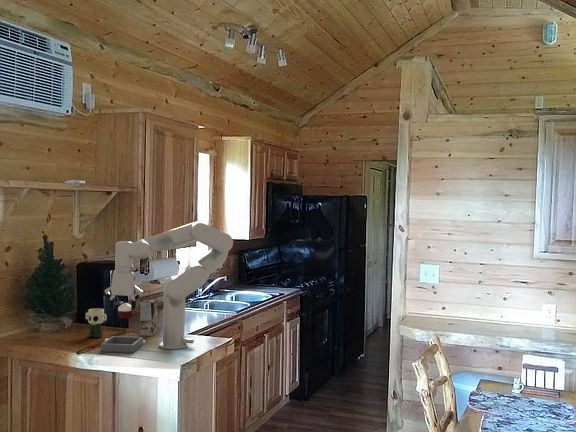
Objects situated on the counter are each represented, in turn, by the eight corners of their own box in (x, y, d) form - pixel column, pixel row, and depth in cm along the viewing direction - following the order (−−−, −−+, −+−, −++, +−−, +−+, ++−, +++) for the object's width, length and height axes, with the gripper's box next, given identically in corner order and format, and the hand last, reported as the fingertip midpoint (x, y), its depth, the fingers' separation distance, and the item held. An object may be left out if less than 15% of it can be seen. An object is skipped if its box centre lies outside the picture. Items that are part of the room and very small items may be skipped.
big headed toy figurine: (81, 337, 288) (81, 310, 288) (89, 334, 295) (89, 307, 295) (102, 339, 286) (102, 311, 285) (109, 336, 293) (110, 309, 292)
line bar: (144, 343, 281) (145, 340, 281) (143, 344, 279) (143, 341, 279) (106, 341, 282) (106, 338, 282) (104, 342, 280) (104, 339, 280)
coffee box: (152, 336, 295) (153, 302, 295) (139, 335, 295) (140, 302, 295) (157, 331, 304) (157, 299, 304) (144, 331, 305) (144, 299, 304)
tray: (143, 344, 278) (143, 337, 278) (133, 353, 263) (133, 345, 263) (112, 343, 278) (112, 336, 278) (100, 352, 263) (101, 343, 263)
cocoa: (137, 318, 271) (139, 291, 271) (129, 320, 265) (130, 292, 265) (119, 316, 274) (120, 289, 274) (110, 318, 268) (112, 290, 268)
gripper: (145, 269, 273) (145, 308, 273) (107, 267, 274) (106, 306, 274) (141, 271, 265) (140, 311, 266) (101, 269, 266) (100, 310, 267)
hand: (123, 308), depth 270 cm, fingers closed on cocoa, 8 cm apart
